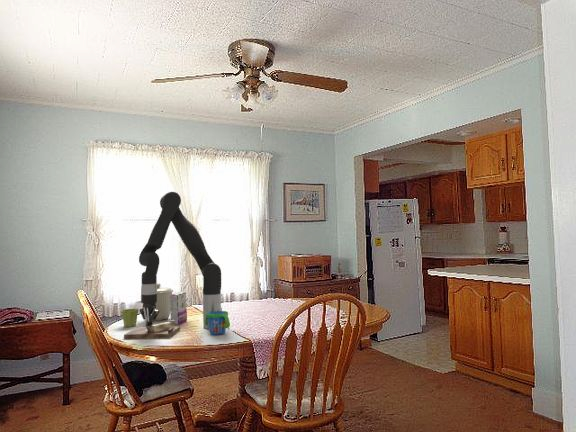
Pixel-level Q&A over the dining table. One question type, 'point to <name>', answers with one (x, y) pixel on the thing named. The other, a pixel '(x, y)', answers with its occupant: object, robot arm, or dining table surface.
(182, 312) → the candy bar box
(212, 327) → the snack cup
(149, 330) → the folding leg
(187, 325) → the dining table surface
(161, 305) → the canister
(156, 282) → the robot arm
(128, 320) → the plant pot
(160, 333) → the walnut board
